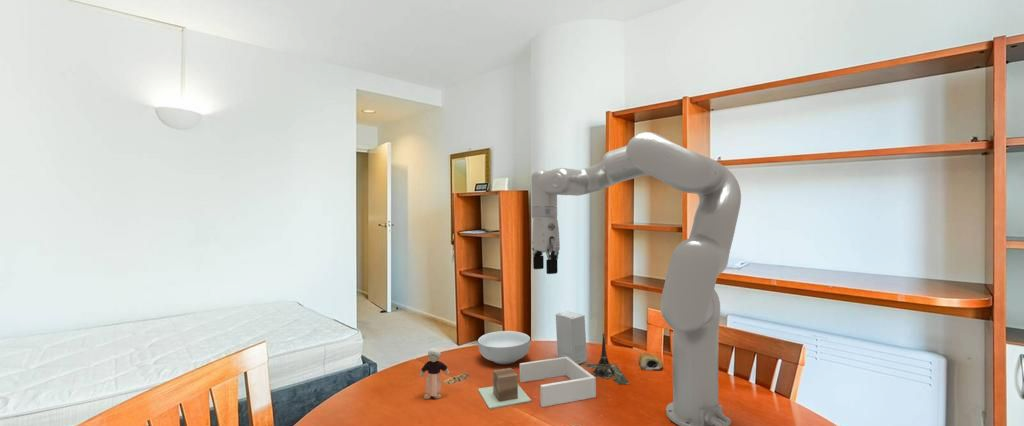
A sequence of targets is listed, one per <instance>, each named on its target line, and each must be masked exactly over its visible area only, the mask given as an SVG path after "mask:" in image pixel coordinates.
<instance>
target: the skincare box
mask: <svg viewBox="0 0 1024 426" xmlns="http://www.w3.org/2000/svg"><path fill="white" fill-rule="evenodd" d="M585 317H586V316H585V314H579V313H576V312H572V311H569V310H567V311H563V312H559V313H555V325H556V327H555V329H556V331H555V332H556V348H557V358H560V357H568V358H570V359H571V360H573V361H574V362H575V363H577V364H578V365H579V364H583V363H584V364H585V363H587V362H588V356H587V337H586V335H587V334H586V320H585V319H586V318H585Z"/></svg>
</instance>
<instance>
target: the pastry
mask: <svg viewBox="0 0 1024 426" xmlns="http://www.w3.org/2000/svg"><path fill="white" fill-rule="evenodd" d="M638 363H639V365H640V368H641V369H642V370H644V371H659V370H661V369H662V368H663V366H664V364H663V362H662V360H661V358H660V357H659V356H658V355H657V354H656V355H655V354H654V353H649V352H644V353H641V354H640V355H639V357H638Z"/></svg>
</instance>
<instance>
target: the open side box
mask: <svg viewBox="0 0 1024 426" xmlns="http://www.w3.org/2000/svg"><path fill="white" fill-rule="evenodd" d="M591 374H592V373H590V372H589V371H587V370H586V369H585V368H583V367H582V366H581V365H579V364H577V363H575V362H574V361H573V360H571V359H570V358H568V357H560V358H558V357H556V358H554V357H553V358H547V359H540V360H533V361H526V362H520V363H519V382H520V383H526V382H531V381H538V380H543V379H544V380H545V379H550V378H551V379H552V378H556V377H563V376H565V377H568V378H569V380H563V381H557V382H551V383H545V384H540V406H541V407H542V408H545V407H550V406H557V405H561V404H566V403H572V402H576V401H582V400H588V399H594V398H596V397H597V389H596V387H597V383H596V382H597V379H596V376H595V375H591Z"/></svg>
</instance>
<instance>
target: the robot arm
mask: <svg viewBox="0 0 1024 426" xmlns="http://www.w3.org/2000/svg"><path fill="white" fill-rule="evenodd" d="M647 175H648V176H651V177H653V178H654V179H657V180H659V181H660V182H662V183H664V184H665V185H668V186H670V187H672V188H674V189H676V190H678V191H680V192H683V193H687V194H696V195H698V199H699V201H698V205H697V209H696V211H695V214H694V217H693V223H692V226H691V227H692V228H691V229H690V234H689V237H688V238H686V239H685V240H682V241H681V242H680V243H679V244H677V246H676V247H675V248H674V250H673V252H672V254H671V256H670V261H669V262H668V263H669V264H668V268H667V271H666V272H667V273H666V277H665V280H664V285H663V288H662V293H661V299H660V306H659V308H660V313H661V317H662V318H663V320H664V322H665V323H666V324H667V325H668V326H669V327H670V328H671V329H672V331H673V332H672V396H673V397H672V402H669V403H668V404H667V405H666V408H665V411H666V416H667V417H668V419H669V420H670V421H672V423H675V424H676V425H678V426H730V425H731V423H732V419H731V418H729V417H728V416H726V415H725V413H723V405H721V404H719V330H720V329H719V328H720V319H721V302H720V297H719V295H718V293H717V291H716V289H715V286H716V283H717V279H718V276H719V275H721V274H722V273H723V272H724V271H725V270H726V268H727V266H728V263H729V258H730V252H731V248H732V243H733V241H734V237H735V233H736V232H735V231H736V227H737V222H738V219H739V214H740V210H741V203H742V202H741V201H742V193H741V186H740V185H739V181H738V180H737V178H736V176H735V175H734V174H733V173H732V172H731V170H730V169H729V168H727V167H726V166H725V165H723V164H722V163H720V162H718V161H717V160H715V159H713V158H710V156H709V157H708V156H705V155H702V154H700V153H698V152H695V151H693V150H690V149H688V148H685V147H684V146H682V145H679V144H677V143H675V142H672V141H670V140H669V139H668V138H667V137H665V136H663V135H660V134H657V133H655V132H651V131H644V132H639V133H637V134H636V135H634V136H633V137H632V138H630V140H629V142H628V143H627V144H626V145H624V146H621V147H619V148H616V149H613V150H609V151H607V152H606V153H605V154H604V155H603V158H602V161H601V162H599V163H596V164H594V165H592V166H589V167H588V166H587V167H585V168H581V169H574V168H565V167H559V168H554V169H551V170H537V171H534V172H532V174H531V180H530V181H531V182H530V183H531V185H530V187H531V219H533V220H532V221H533V222H532V233H531V234H532V237H531V240H532V241H531V245H532V248H531V249H532V259H533V260H532V262H533V263H532V266H533V267H532V268H533V270H543V269H544V267H545V266H546V267H545V269H546V274H547V275H553V274H554V275H555V274H558V259H559V253H560V250H561V249H560V248H561V245H560V230H559V222H558V196H559V195H560V196H584V195H588V194H591V193H594V192H598V191H601V190H604V189H608V188H609V187H613V186H614V185H617V184H619V183H623V182H626V181H629V180H633V179H637V178H639V177H644V176H647ZM543 253H545V254H546V255H545V256H546V258H547V259H545V258H544V255H543ZM544 259H545V260H546V261H545V263H546V265H545V264H544ZM544 265H545V266H544Z"/></svg>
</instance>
